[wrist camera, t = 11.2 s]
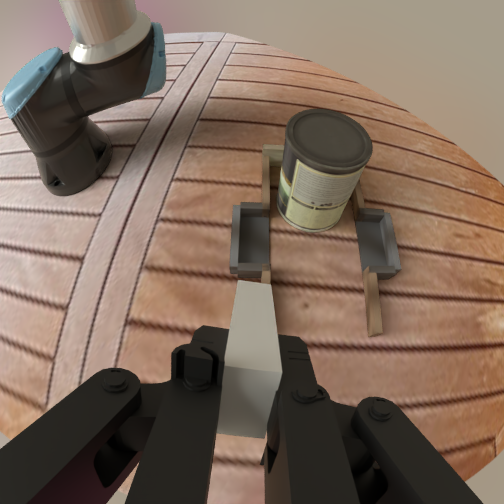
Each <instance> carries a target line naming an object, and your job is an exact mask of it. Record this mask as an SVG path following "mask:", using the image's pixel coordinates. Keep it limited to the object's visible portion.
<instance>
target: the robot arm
mask: <svg viewBox="0 0 504 504" xmlns="http://www.w3.org/2000/svg"><path fill="white" fill-rule="evenodd" d="M59 3H60V5H61V7H62V9H63V12H64V14H65V17H66V19H67V21H68V24H69V26H70V28H71V30H72V32H73V35H74V38H73V40H72V42H71V45H70V48H69V52H68V53H65V54H63V52H62V50H60V49H59V48H58V47H54V48H53V49H49V50H47V51H45V52H43V53H41V54H40V55H38V56H37V57H35V58H34V59H32V60H31V61H30V62H29V63H27V64H26V65H25V66H24V67H23V68H22V69H21V70H19V71H18V72H17V73H16V75H15V76H14V77H13V78H12V79H11V80H10V82H9V83H8V84H7V86H6V87H5V89H4V91H3V94H2V103H3V105H4V108H5V110H6V112H7V114H8V117H9V119H11V121H12V122H13V124H14V125H15V127H16V128H17V130H18V131H19V133H20V134H21V136H22V137H23V139H24V140H25V142H26V143H27V145H28V146H29V148H30V149H31V151H32V152H33V154H34V155H35V157H36V160H37V164H38V168H39V172H40V176H41V179H42V182H43V184H44V185H45V186H46V188H47V189H48V190H49V191H50V192H51V193H52V194H54V195H58V196H66V195H71V194H74V193H76V192H79V191H81V190H83V189H84V188H86V187H87V186H89V185H90V184H91V183H93V182H94V181H95V180H96V179H97V178H98V177H99V176H100V175H101V174H102V173H103V171H104V170H105V169H106V167H107V166H108V164H109V162H110V159H111V156H112V145H111V143H110V140H109V138H108V136H107V135H106V133H105V132H104V131H103V130H102V129H100V128H99V127H98V126H97V125H96V124H95V123H94V122H93V121H92V120H91V119H89V117H88V116H89V115H92V114H94V113H97V112H100V111H103V110H106V109H108V108H111V107H114V106H117V105H120V104H124V103H127V102H130V101H133V100H137V99H141V98H143V97H144V96H147V95H150V94H153V93H155V92H158V91H160V90H161V89H162V88H163V86H164V84H165V81H166V56H165V41H164V34H163V30H162V26H161V24H160V23H153V22H151V21H150V18H149V17H148V16H147V15H146V14H145V13H143V12H141V11H137V10H136V5H135V1H134V0H59ZM308 353H309V352H308V349H307V345H306V344H305V343H304V342H303V341H302V339H301V338H300V337H296V336H287V335H278V334H277V326H276V318H275V311H274V303H273V295H272V288H271V284H263V283H256V282H249V281H242V280H238V283H237V289H236V295H235V300H234V306H233V312H232V318H231V323H230V329H224V328H218V327H211V326H205V325H203V326H201V327H200V328H199V329H197V330H196V331H195V332H194V335H193V337H192V340H191V343H190V344H184V345H181V346H179V347H177V348H175V349H174V351H173V352H172V354H171V380H169V381H167V382H163V383H155V384H140V380H139V379H138V377H137V376H136V375H135V374H134V373H132V372H131V371H129V370H125V369H122V368H108V369H103V370H101V371H99V372H97V373H95V374H94V375H93V376H92V377H90V378H89V379H88V380H87V381H85V382H84V383H83V384H82V385H80V386H79V387H78V388H77V389H75V390H74V391H73V392H71V393H70V394H69V395H68V396H66V397H65V398H64V399H63V400H61V401H60V402H59V403H58V404H56V405H55V406H54V407H53V408H51V409H50V410H49V411H48V412H46V413H45V414H44V415H42V416H41V417H40V418H39V419H37V420H36V421H35V422H34V423H32V424H31V425H30V426H29V427H27V428H26V429H25V430H24V431H22V432H21V433H20V434H19V435H17V436H16V437H15V438H14V439H12V440H11V441H10V442H9V443H7V444H6V445H5V446H3V447H2V448H1V449H0V504H106V503H107V502H108V501H109V499H110V498H111V497H112V496H113V495H114V493H115V492H116V491H117V490H118V488H119V487H120V486H121V485H122V483H123V482H124V481H125V479H126V478H127V477H128V476H129V474H130V473H131V472H132V470H133V469H134V468H135V467H136V465H137V464H138V463H139V465H138V467H137V470H136V473H135V476H134V479H133V481H132V484H131V487H130V490H129V493H128V496H127V499H126V501H125V504H207V498H208V491H209V484H210V476H211V469H212V462H213V455H214V448H215V440H216V433H219V434H226V435H234V436H243V437H253V438H265V435H266V431H267V443H266V447H265V450H264V453H263V456H262V459H261V463H260V465H264V469H265V504H483V503H482V501H481V500H480V499H479V498H478V497H477V496H476V495H475V493H474V492H473V491H472V490H471V489H470V488H469V487H468V486H467V484H466V483H465V482H464V481H463V480H462V479H461V477H460V476H459V475H458V474H457V473H456V472H455V471H454V469H453V468H452V467H451V466H450V465H449V464H448V463H447V461H446V460H445V459H444V458H443V457H442V456H441V455H440V453H439V452H438V451H437V450H436V449H435V448H434V447H433V446H432V444H431V443H430V442H429V441H428V440H427V439H426V438H425V436H424V435H423V434H422V433H421V432H420V431H419V430H418V429H417V427H416V426H415V425H414V424H413V423H412V422H411V421H410V419H409V418H408V417H407V416H406V415H405V414H404V413H403V412H402V410H401V409H400V408H399V407H398V406H397V405H395V404H394V403H393V402H392V401H389V400H387V399H385V398H380V397H368V398H365V399H363V400H362V401H361V402H360V403H359V404H358V406H357V407H352V406H348V405H343V404H340V403H336V402H334V401H332V400H331V399H330V396H329V394H328V392H327V391H326V390H325V389H324V388H323V387H321V386H320V385H318V384H317V381H316V378H315V374H314V370H313V367H312V363H311V361H310V360H311V359H310V356H309V354H308ZM139 461H140V462H139ZM376 462H377V463H376Z"/></svg>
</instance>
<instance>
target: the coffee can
mask: <svg viewBox="0 0 504 504" xmlns="http://www.w3.org/2000/svg"><path fill="white" fill-rule="evenodd" d="M285 137H286V139H285V145H284V153H283V160H282V167H281V173H280V180H279V187H278V193H277V197H276V204H277V208H278V211H279V213H280V214H281V216H282V217H283V219H284V220H285V221H286V222H287V223H289V224H290V225H291V226H293V227H295V228H297V229H299V230H302V231H306V232H322V231H325V230H328V229H330V228H331V227H333V226H334V225H335V224H336V223H337V222H338V221H339V219H340V217H341V215H342V212H343V210H344V208H345V206H346V204H347V202H348V200H349V198H350V196H351V194H352V192H353V190H354V188H355V186H356V184H357V182H358V180H359V178H360V175H361V173H362V171H363V169H364V167H365V165H366V164H367V162H368V161H369V159H370V157H371V155H372V142H371V139H370V137H369V135H368V133H367V132H366V131H365V129H364V128H363V127H362V126H361V125H360V124H359V123H357V122H356V121H355V120H353V119H351V118H350V117H348V116H346V115H344V114H342V113H339V112H336V111H332V110H326V109H309V110H305V111H302V112H299V113H297V114H295V115H294V116H293V117H292V118H291V119H290V120H289V121H288V123H287V125H286V131H285Z"/></svg>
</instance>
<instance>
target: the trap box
mask: <svg viewBox="0 0 504 504" xmlns="http://www.w3.org/2000/svg"><path fill="white" fill-rule="evenodd" d="M283 153H284V145H268V144H263V152H262V203H254V202H241V205H233V216H232V232H231V249H230V273H231V274H238V277H239V278H261V283H263V284H270V264H269V213H270V179H269V166H276V167H282V160H283ZM351 202H352V207H353V213H354V219H355V225H356V231H357V238H358V244H359V251H360V259H361V266H362V275H363V283H364V293H365V303H366V314H367V327H368V337H375V336H377V335H379V334H382V333H383V330H382V318H381V307H380V298H379V289H378V281H377V279H389V278H390V277H392V276H394V275H395V274H397V273H398V272H399V271H400V270H401V265H400V259H399V254H398V248H397V243H396V238H395V233H394V229H393V224H392V220H391V215H390V213H384V210H382V209H369V208H365V203H364V199H363V194H362V189H361V185H360V180H358V182H357V184H356V186H355V188H354V190H353V192H352V194H351Z"/></svg>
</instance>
